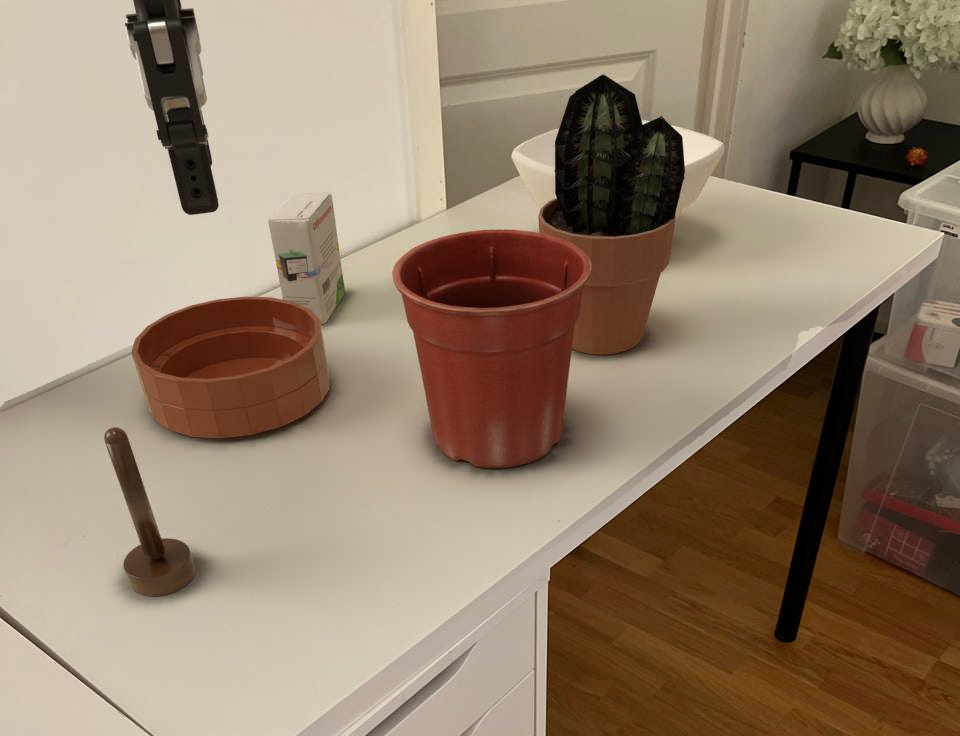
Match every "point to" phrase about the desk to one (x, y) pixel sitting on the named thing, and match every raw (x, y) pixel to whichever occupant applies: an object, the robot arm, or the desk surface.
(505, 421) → the flower pot
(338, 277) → the ink box
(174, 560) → the brown peg stand
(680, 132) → the bowl
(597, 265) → the potted plant
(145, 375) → the shallow terracotta planter
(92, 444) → the desk surface
